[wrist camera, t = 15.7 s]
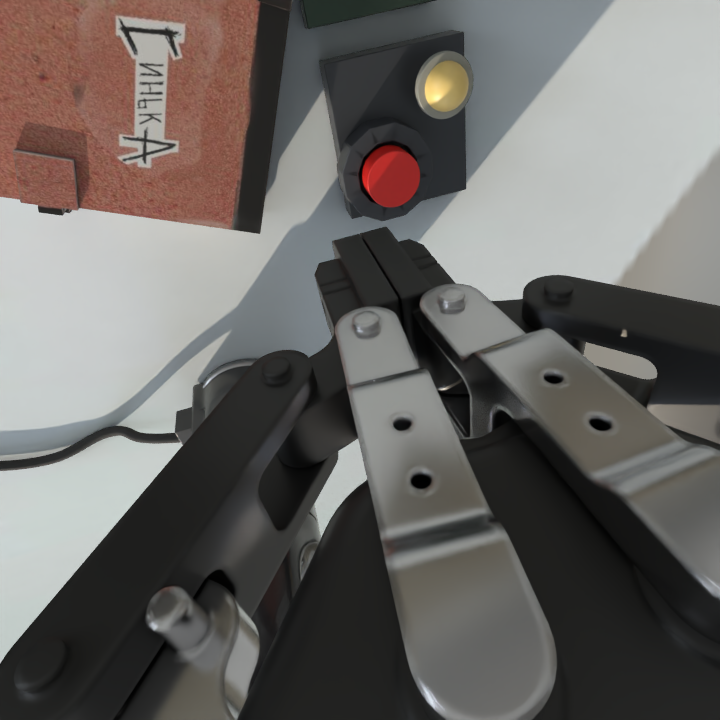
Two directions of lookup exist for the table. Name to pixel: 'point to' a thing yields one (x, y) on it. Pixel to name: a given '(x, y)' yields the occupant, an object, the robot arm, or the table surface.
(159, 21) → the book
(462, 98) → the lamp lens
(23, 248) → the table surface
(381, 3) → the switch bracket
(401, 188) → the button
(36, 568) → the table surface
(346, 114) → the emergency stop panel
